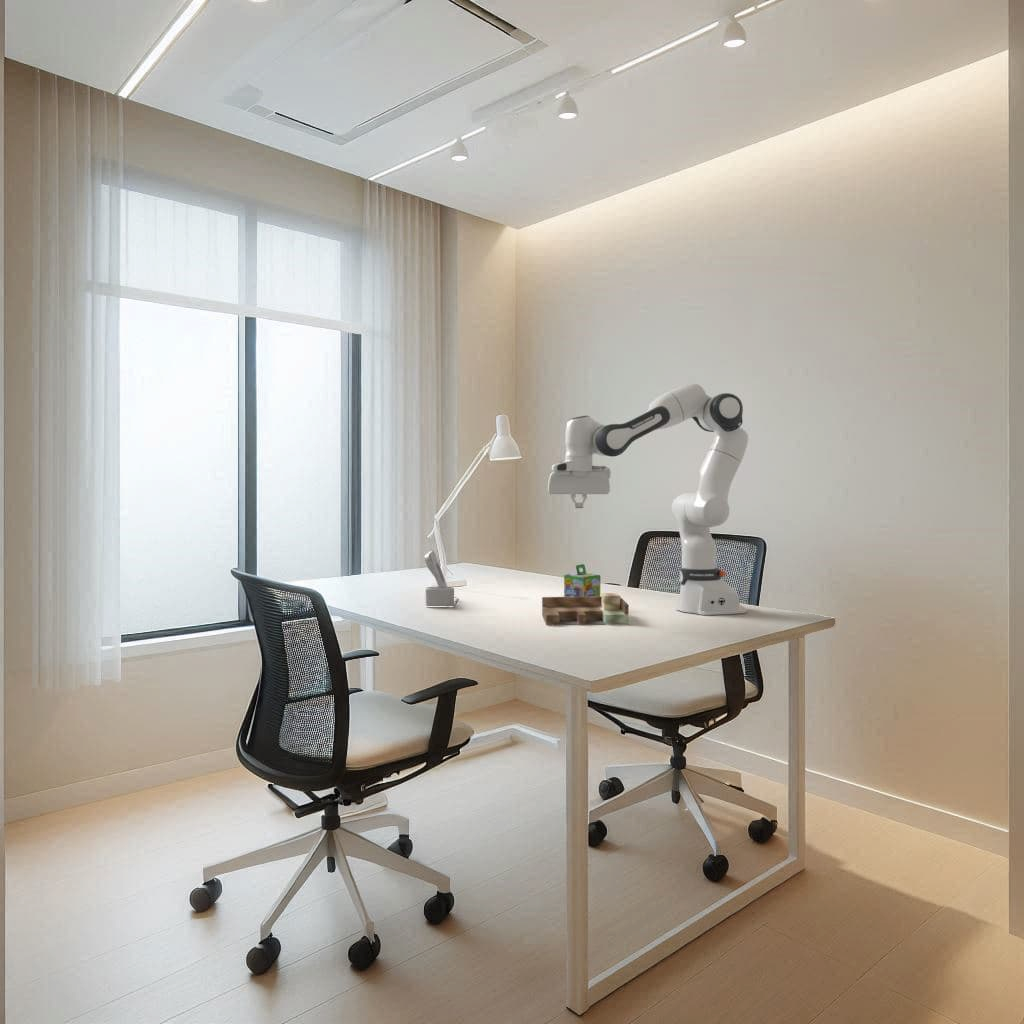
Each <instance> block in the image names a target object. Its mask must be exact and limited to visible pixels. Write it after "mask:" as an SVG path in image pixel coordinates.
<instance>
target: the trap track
mask: <svg viewBox="0 0 1024 1024" xmlns="http://www.w3.org/2000/svg"><path fill="white" fill-rule="evenodd" d="M541 600H542V601H541V616H542V619H543V620H544V623H545V625H546V626H585V625H586V626H588V625H589V626H590V625H591V626H592V625H594V626H595V625H598V626H599V625H603V626H604V625H629V616H630V615H629V603H627V601H625V600H624V599H623V598H622V596H620V610H604V609H603V608H602V607H601V605H602V595H600V596H599V597H564V596H542V597H541Z"/></svg>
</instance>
